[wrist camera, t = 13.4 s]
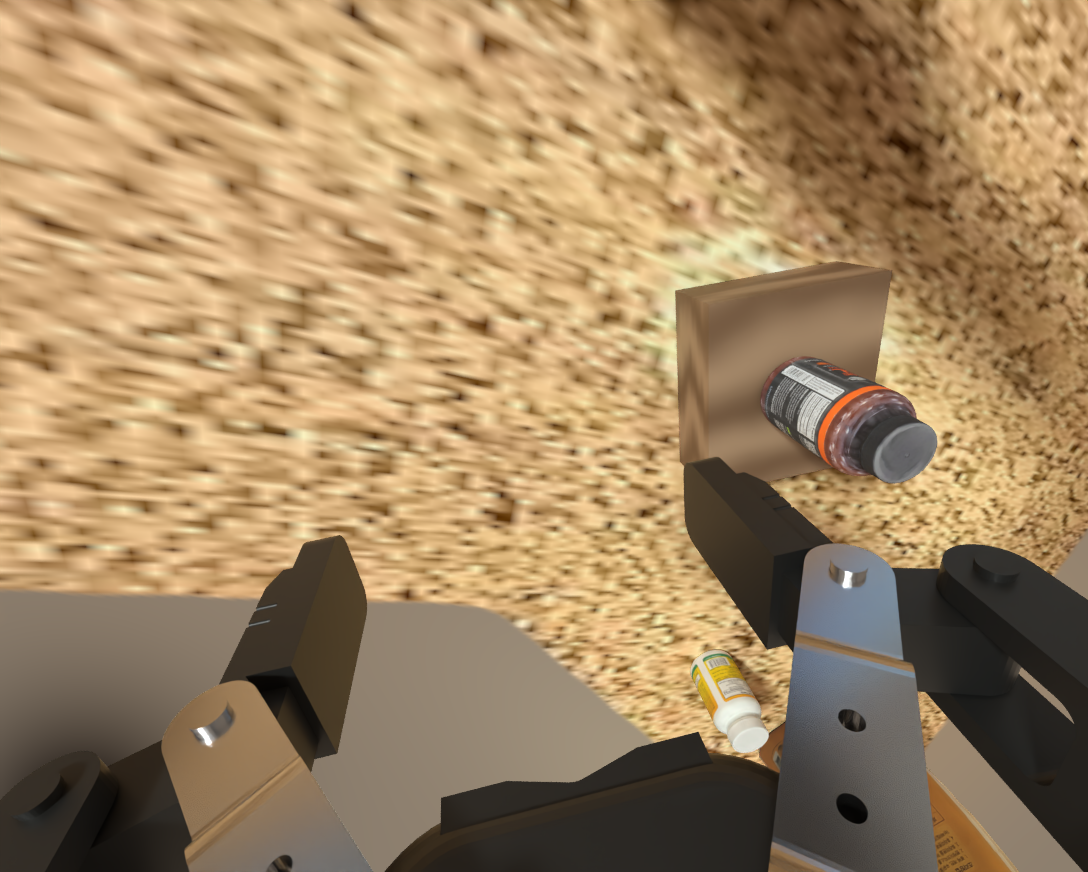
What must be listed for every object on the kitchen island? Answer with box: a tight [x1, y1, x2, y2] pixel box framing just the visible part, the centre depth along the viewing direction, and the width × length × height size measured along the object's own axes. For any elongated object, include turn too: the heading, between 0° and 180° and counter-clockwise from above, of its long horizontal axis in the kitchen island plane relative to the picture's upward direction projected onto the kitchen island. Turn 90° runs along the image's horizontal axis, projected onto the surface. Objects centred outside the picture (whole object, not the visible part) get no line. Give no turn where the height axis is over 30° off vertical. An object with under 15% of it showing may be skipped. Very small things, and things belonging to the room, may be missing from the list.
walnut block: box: [675, 261, 892, 482], centre depth 42 cm, size 16×14×6 cm
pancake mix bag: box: [759, 722, 1019, 872], centre depth 56 cm, size 7×19×28 cm, turn 136°
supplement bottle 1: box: [690, 650, 769, 753], centre depth 57 cm, size 5×5×10 cm
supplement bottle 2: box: [760, 356, 937, 483], centre depth 35 cm, size 6×6×11 cm
